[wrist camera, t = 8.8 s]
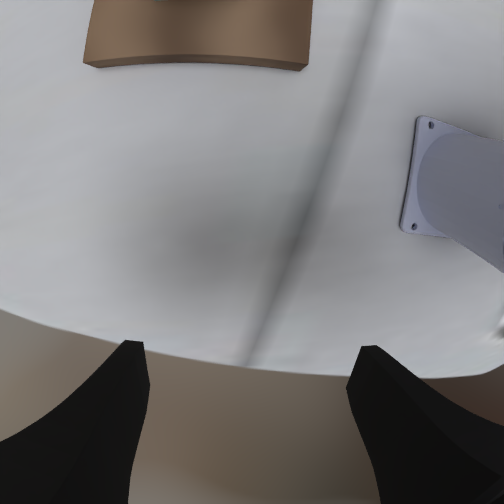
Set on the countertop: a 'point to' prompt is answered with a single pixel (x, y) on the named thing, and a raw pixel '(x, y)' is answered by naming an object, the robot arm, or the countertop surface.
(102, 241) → the countertop surface
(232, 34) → the walnut plinth
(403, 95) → the countertop surface
